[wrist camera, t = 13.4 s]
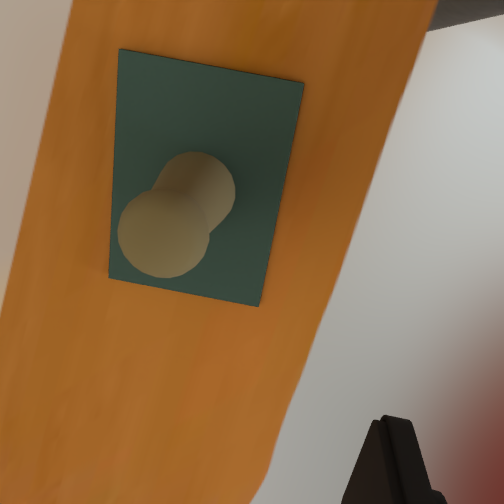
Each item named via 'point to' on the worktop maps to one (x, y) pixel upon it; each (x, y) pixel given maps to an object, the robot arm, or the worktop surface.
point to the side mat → (212, 143)
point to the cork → (176, 215)
